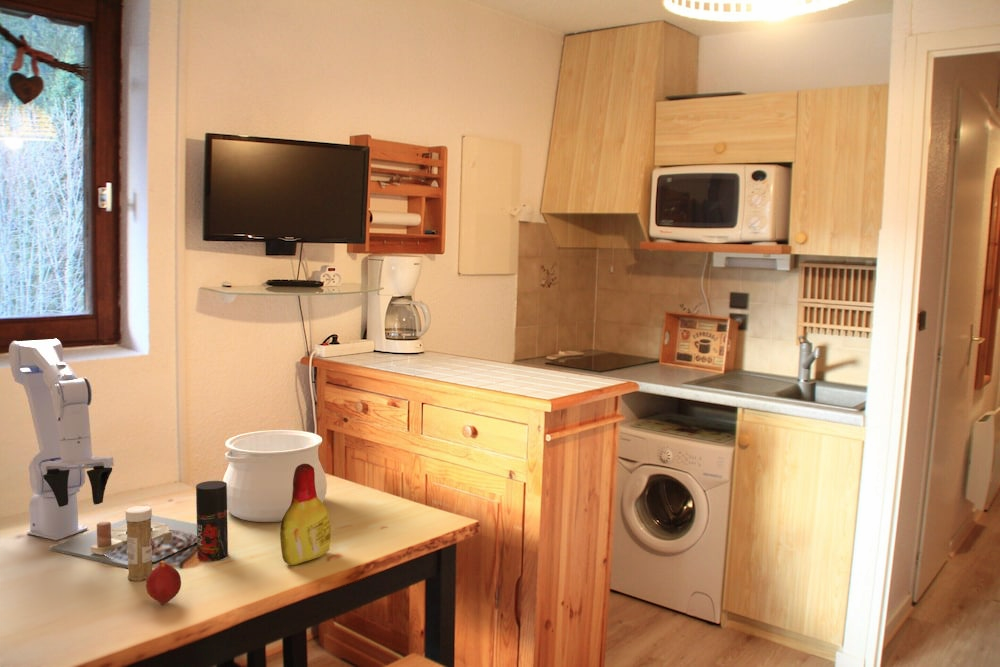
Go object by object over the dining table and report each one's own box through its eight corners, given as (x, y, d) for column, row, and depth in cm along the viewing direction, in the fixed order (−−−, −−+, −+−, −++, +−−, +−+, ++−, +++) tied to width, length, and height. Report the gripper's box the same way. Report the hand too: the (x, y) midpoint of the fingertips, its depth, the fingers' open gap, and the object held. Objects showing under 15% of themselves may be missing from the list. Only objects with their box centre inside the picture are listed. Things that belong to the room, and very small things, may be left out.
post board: (50, 549, 173) (49, 525, 172) (141, 515, 195) (141, 494, 194) (137, 570, 163) (136, 544, 163) (222, 531, 185) (222, 509, 185)
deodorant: (234, 553, 173) (233, 482, 171) (215, 563, 167) (214, 490, 166) (210, 549, 175) (208, 479, 173) (191, 559, 169) (189, 487, 168)
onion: (152, 597, 152) (151, 554, 151) (185, 596, 152) (184, 554, 151) (142, 611, 146) (140, 567, 145) (176, 610, 146) (174, 566, 145)
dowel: (161, 546, 174) (160, 533, 174) (167, 543, 176) (167, 530, 176) (167, 547, 174) (167, 534, 173) (174, 544, 175) (173, 531, 175)
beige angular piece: (140, 524, 186) (139, 499, 186) (180, 532, 182) (179, 507, 181) (75, 548, 171) (74, 522, 170) (117, 558, 167) (116, 531, 166)
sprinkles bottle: (155, 578, 160) (153, 509, 158) (129, 583, 157) (127, 513, 156) (150, 570, 164) (148, 503, 162) (125, 574, 161) (123, 507, 159)
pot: (283, 487, 219) (283, 424, 217) (349, 506, 205) (349, 439, 203) (198, 511, 198) (196, 442, 197) (264, 534, 184) (264, 460, 182)
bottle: (291, 572, 164) (290, 472, 162) (270, 564, 168) (269, 466, 166) (337, 554, 173) (337, 460, 171) (317, 547, 177) (316, 455, 175)
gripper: (29, 443, 168) (34, 511, 168) (96, 438, 166) (102, 506, 166) (51, 438, 175) (57, 503, 175) (117, 433, 173) (122, 499, 173)
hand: (80, 504), depth 171 cm, fingers open, 7 cm apart
